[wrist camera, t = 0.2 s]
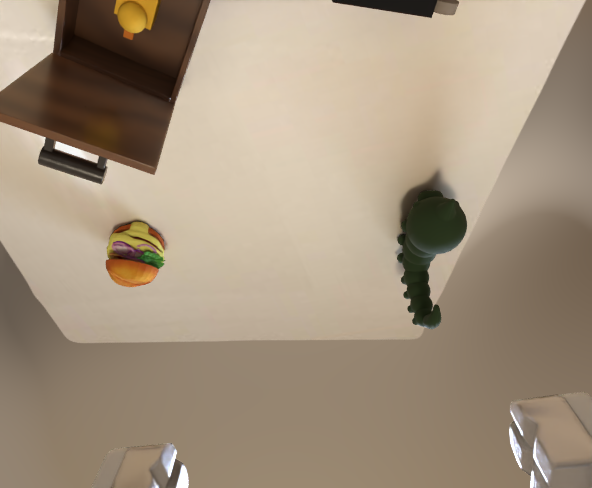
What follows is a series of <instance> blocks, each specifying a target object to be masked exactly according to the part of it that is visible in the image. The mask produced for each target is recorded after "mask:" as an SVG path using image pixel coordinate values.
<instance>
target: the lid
mask: <svg viewBox="0 0 592 488" xmlns="http://www.w3.org/2000/svg"><path fill="white" fill-rule="evenodd" d="M174 106H175V104H174V103H172V102H169V101H167V100H164V99H162V98H160V97H157V96H155V95H152V94H150V93H148V92H145V91H143V90H140V89H138V88H136V87H133V86H131V85H128V84H126V83H124V82H121V81H119V80H116V79H114V78H112V77H109V76H107V75H104V74H102V73H100V72H97V71H95V70H92V69H90V68H88V67H85V66H83V65H80V64H78V63H76V62H73V61H71V60H68V59H66V58H64V57H61V56H59V55H56V54H54V53H51V54H50V55H48V56H47V57H46V58H44V59H43V60H42V61H40V62H39V63H38V64H37V65H35V66H34V67H33V68H31V69H30V70H29V71H27V72H26V73H25V74H23V75H22V76H21V77H19V78H18V79H17V80H15V81H14V82H13V83H11V84H10V85H9V86H7V87H6V88H5V89H3V90H2V91H1V92H0V122H3V123H6V124H9V125H12V126H15V127H18V128H20V129H23V130H26V131H29V132H32V133H35V134H38V135H41V136H44V137H46V139H45V145H44V147H43V148H42V150H41V152H40V155H39V159H38V163H39V164H40V165H43V166H46V167H49V168H52V169H55V170H59V171H62V172H65V173H68V174H71V175H74V176H77V177H80V178H83V179H86V180H89V181H92V182H96V183H99V184H102V183H103V181H104V178H105V175H106V172H107V166H106V163H107V160H108V159H110V160H113V161H115V162H118V163H121V164H124V165H127V166H130V167H133V168H136V169H138V170H141V171H144V172H147V173H150V174H153V175H155V172H156V169H157V166H158V162H159V159H160V155H161V152H162V148H163V145H164V141H165V138H166V134H167V131H168V127H169V124H170V120H171V117H172V113H173V110H174ZM56 141H58V142H61V143H64V144H67V145H69V146H72V147H75V148H78V149H81V150H84V151H87V152H90V153H92V154H95V155H98V156H99V159H98V163H95V162H92V161H89V160H86V159H83V158H80V157H77V156H74V155H71V154H68V153H65V152H63V151H60V150H57V149H54V148H55V143H56Z"/></svg>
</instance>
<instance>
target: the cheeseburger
mask: <svg viewBox="0 0 592 488" xmlns="http://www.w3.org/2000/svg"><path fill="white" fill-rule="evenodd" d="M163 254H164V243H163V239H162V238H161V237H160V235H159V234H158V233H157V232H155V231H154V230H152V229H151V228H149V226H148V225H147V224H145V223H142V222H133V223H132V224H128V225H125V226H121V227H119V228H118V229H116V230H115V231H114V232H113V234H112V235H111V236H110V240H109V245H108V247H107V255H108V258H109V260H106V269H107V271H108V273H109V275H110V277H111V279H112V280H113V281H114V282H115V283H117V284H119V285H122V286H126V287H136V286H141V285H145V284H148V283H150V282H151V281H152V280H153V279H154V278H155V277H156V275H157V273H158V271H159V270H158V269H159V268H160V267H162V266H163V265H164V263H162V262H163V261H165V260H164V256H163Z"/></svg>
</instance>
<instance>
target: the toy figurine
mask: <svg viewBox="0 0 592 488" xmlns="http://www.w3.org/2000/svg"><path fill="white" fill-rule="evenodd" d="M401 227H402V230H403V232H405V233H406V235H400V236H399V237H398V243H399V244H400V245H402V246H403V249H402V250H403V253H400V254H399V255H398V256H397V260H398V261H399V262H400V263H402V264H403V267H404V269H405V272H404V276H403V277H402V278H401V282H402V283H403V284H405V285H407V286H408V287H407V291H406V292H404V294H403V295H404V298H406V299H411V304H410V306H408V311H409V312H410V313H412V312H414V313H415V314H414V318H413V320H412V321H413V324H415V325H420V326H423V327H427V328H429V329H434V328H436V327H438V326H439V324H440V322H441V313H440V308H439V306H438V305H434V307H433V304H432V301H431V299H430V297H429V296H430V287H429V285H428V281H429V274H428V271H427V270H428V268H429V266H430V262H431V261H432V260H433V259H434V258H435V256H436V254H442V253H446V252H448V251H451V250H452V249H454V248H455V247H456V246H457V245H458V244H459V243H460V242H461V241H462V239H463V238H464V236H465V233H466V229H467V221H466V216H465V214H464V212H463V210H462V209H461V207H460V206H459V203H458V202H457V201H455V200H454V199H451V200H450V199H447V198H444V197H443V195H442V193H441V192H439V191H436V190H428V191H423V192H421V193H420V194H419V196H418V201H417V202H415V203H414V204H413V208H412V209H411V211H410V213H409V215H408V218H407V219H406V220H404V221H403V222H402V225H401ZM432 307H433V310H432ZM431 310H432V311H431Z"/></svg>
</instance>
